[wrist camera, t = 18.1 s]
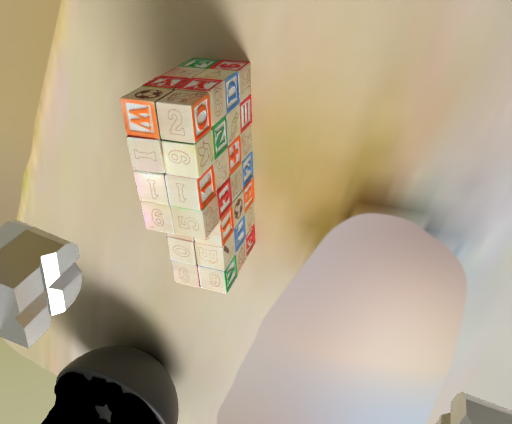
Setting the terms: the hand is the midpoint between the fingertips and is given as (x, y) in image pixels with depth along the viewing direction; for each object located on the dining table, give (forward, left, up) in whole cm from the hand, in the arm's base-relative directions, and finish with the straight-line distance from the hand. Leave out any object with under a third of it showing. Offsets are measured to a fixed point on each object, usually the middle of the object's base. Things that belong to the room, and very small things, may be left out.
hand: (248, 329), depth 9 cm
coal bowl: (+23, +61, -34) cm, 74 cm away
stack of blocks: (+13, +18, -34) cm, 41 cm away
